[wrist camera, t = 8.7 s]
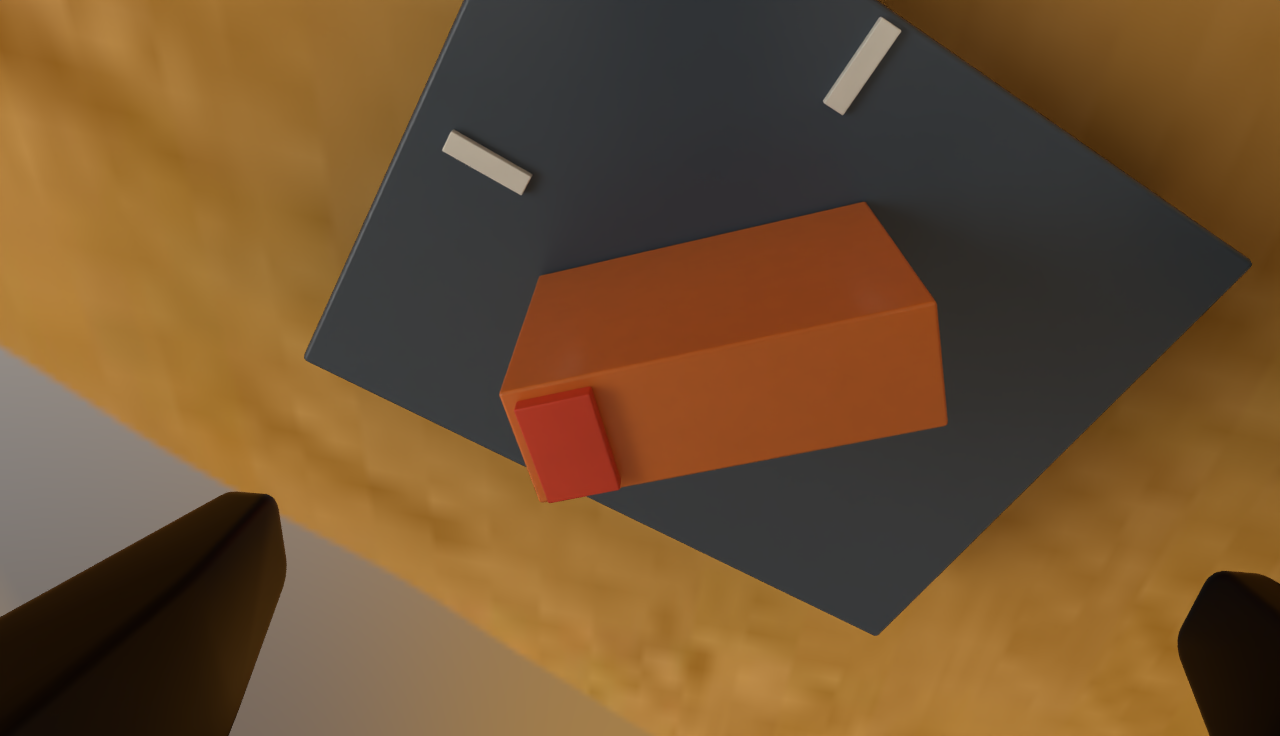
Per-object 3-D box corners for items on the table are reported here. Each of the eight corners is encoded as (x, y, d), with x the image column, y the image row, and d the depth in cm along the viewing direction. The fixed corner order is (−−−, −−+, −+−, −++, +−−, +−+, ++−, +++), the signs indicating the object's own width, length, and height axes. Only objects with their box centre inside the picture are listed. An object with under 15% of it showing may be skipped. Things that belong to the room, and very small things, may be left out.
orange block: (866, 199, 13) (943, 310, 10) (878, 300, 14) (955, 437, 11) (538, 275, 14) (493, 404, 10) (568, 366, 15) (537, 515, 11)
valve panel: (1162, 208, 17) (1263, 267, 14) (849, 546, 21) (878, 644, 18) (581, -194, 14) (560, -222, 11) (354, 294, 18) (297, 364, 15)
